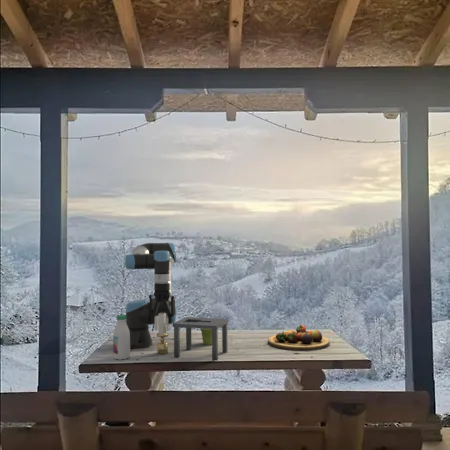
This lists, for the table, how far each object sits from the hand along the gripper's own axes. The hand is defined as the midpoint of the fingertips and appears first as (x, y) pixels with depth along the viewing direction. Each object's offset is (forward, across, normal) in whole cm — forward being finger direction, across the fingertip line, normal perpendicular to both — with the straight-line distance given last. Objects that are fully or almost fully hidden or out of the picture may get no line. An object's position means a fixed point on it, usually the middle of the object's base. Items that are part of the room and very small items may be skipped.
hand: (162, 330), depth 240 cm
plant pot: (+12, +15, +25) cm, 31 cm away
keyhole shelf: (+11, +19, +3) cm, 22 cm away
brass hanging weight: (+11, 0, 0) cm, 11 cm away
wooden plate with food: (+12, +60, +39) cm, 73 cm away
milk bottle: (+12, -15, -13) cm, 23 cm away
